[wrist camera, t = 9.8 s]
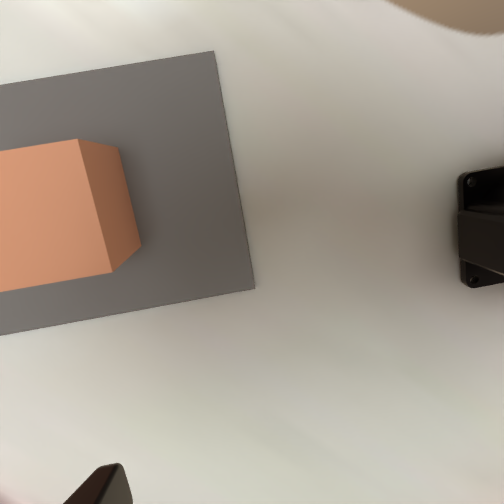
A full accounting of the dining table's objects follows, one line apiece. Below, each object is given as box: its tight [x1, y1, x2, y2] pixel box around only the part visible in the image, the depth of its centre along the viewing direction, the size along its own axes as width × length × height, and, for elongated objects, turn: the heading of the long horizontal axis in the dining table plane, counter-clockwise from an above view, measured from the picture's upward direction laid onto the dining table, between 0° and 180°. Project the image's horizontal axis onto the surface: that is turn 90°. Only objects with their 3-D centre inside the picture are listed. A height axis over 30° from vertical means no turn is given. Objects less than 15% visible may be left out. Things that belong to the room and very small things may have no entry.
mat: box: [0, 51, 255, 336], centre depth 18 cm, size 16×12×1 cm
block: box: [0, 139, 141, 292], centre depth 16 cm, size 5×5×5 cm
